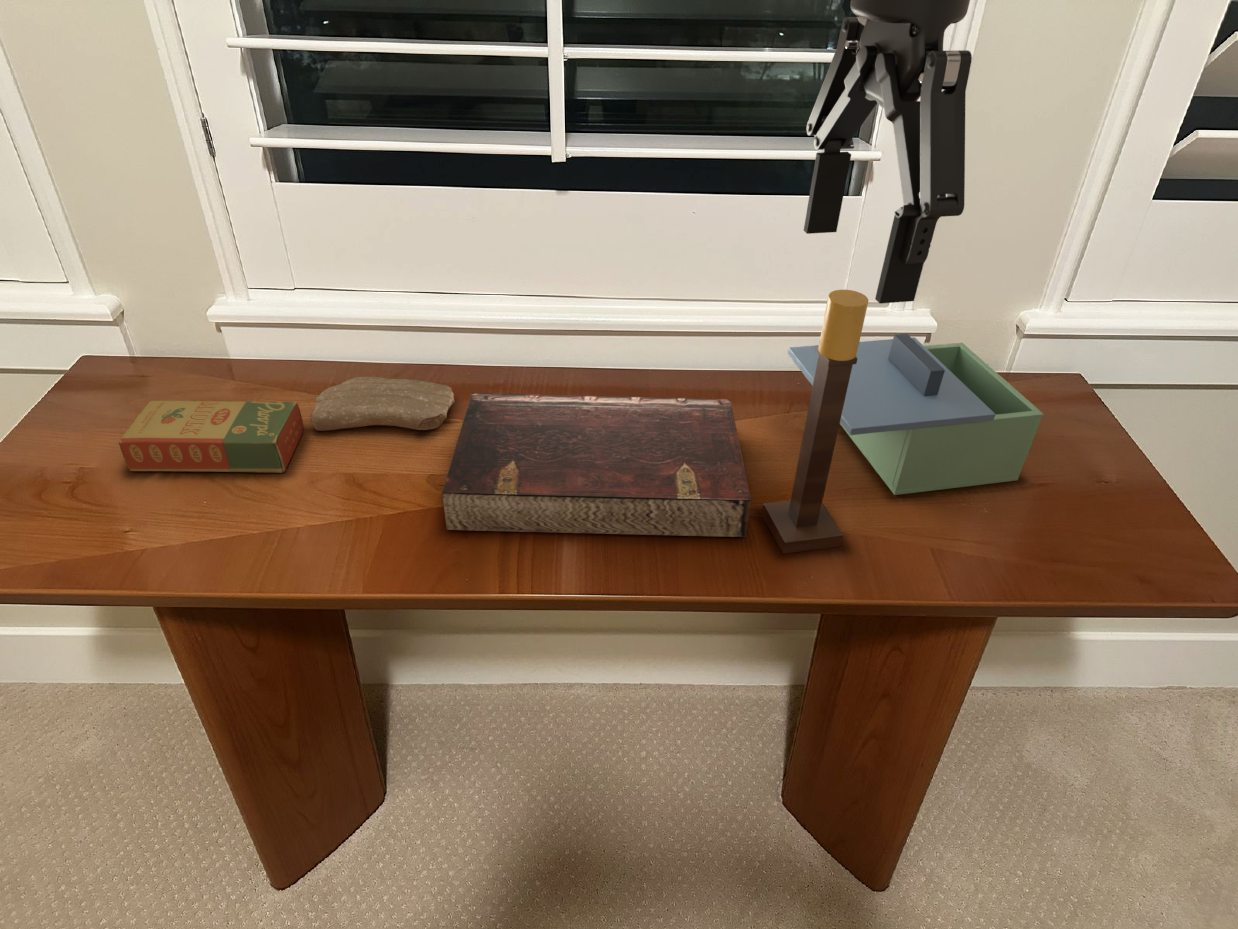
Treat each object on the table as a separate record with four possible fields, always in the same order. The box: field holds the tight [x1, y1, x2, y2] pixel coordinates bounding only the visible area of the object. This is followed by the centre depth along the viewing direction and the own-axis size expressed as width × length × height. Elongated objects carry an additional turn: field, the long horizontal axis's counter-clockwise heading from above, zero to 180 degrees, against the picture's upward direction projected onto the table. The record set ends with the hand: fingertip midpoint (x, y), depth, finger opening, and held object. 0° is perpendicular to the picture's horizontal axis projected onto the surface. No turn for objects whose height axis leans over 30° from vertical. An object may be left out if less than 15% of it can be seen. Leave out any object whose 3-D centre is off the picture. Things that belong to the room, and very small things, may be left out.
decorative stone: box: [310, 376, 455, 432], centre depth 96 cm, size 10×16×4 cm, turn 91°
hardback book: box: [441, 392, 752, 538], centre depth 86 cm, size 29×19×5 cm, turn 90°
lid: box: [787, 333, 995, 435], centre depth 87 cm, size 17×16×4 cm
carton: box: [118, 400, 305, 474], centre depth 89 cm, size 8×16×4 cm, turn 92°
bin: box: [839, 342, 1044, 496], centre depth 92 cm, size 16×15×9 cm
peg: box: [818, 289, 869, 361], centre depth 69 cm, size 3×3×5 cm
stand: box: [761, 346, 857, 555], centre depth 76 cm, size 6×6×20 cm
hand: (854, 263), depth 66 cm, fingers open, 13 cm apart
